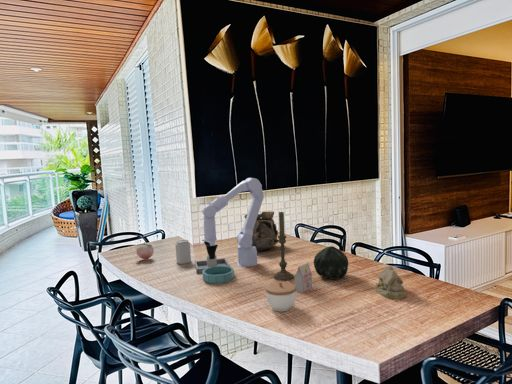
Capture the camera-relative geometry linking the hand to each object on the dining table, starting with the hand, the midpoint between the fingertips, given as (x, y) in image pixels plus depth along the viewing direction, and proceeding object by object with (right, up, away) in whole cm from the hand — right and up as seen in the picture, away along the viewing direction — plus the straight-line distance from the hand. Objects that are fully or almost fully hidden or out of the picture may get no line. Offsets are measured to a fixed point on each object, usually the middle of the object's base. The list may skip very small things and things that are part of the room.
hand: (211, 256), depth 176 cm
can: (-16, -6, +12) cm, 21 cm away
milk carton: (+41, -7, -33) cm, 53 cm away
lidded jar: (+31, -9, -49) cm, 59 cm away
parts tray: (0, -6, +1) cm, 6 cm away
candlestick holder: (+34, -6, -17) cm, 39 cm away
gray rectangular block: (0, -5, +1) cm, 5 cm away
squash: (+56, -6, -19) cm, 59 cm away
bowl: (+5, -7, -15) cm, 17 cm away
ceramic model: (+74, -7, -39) cm, 84 cm away
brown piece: (+25, -2, +35) cm, 43 cm away
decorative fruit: (-39, -6, +22) cm, 45 cm away
